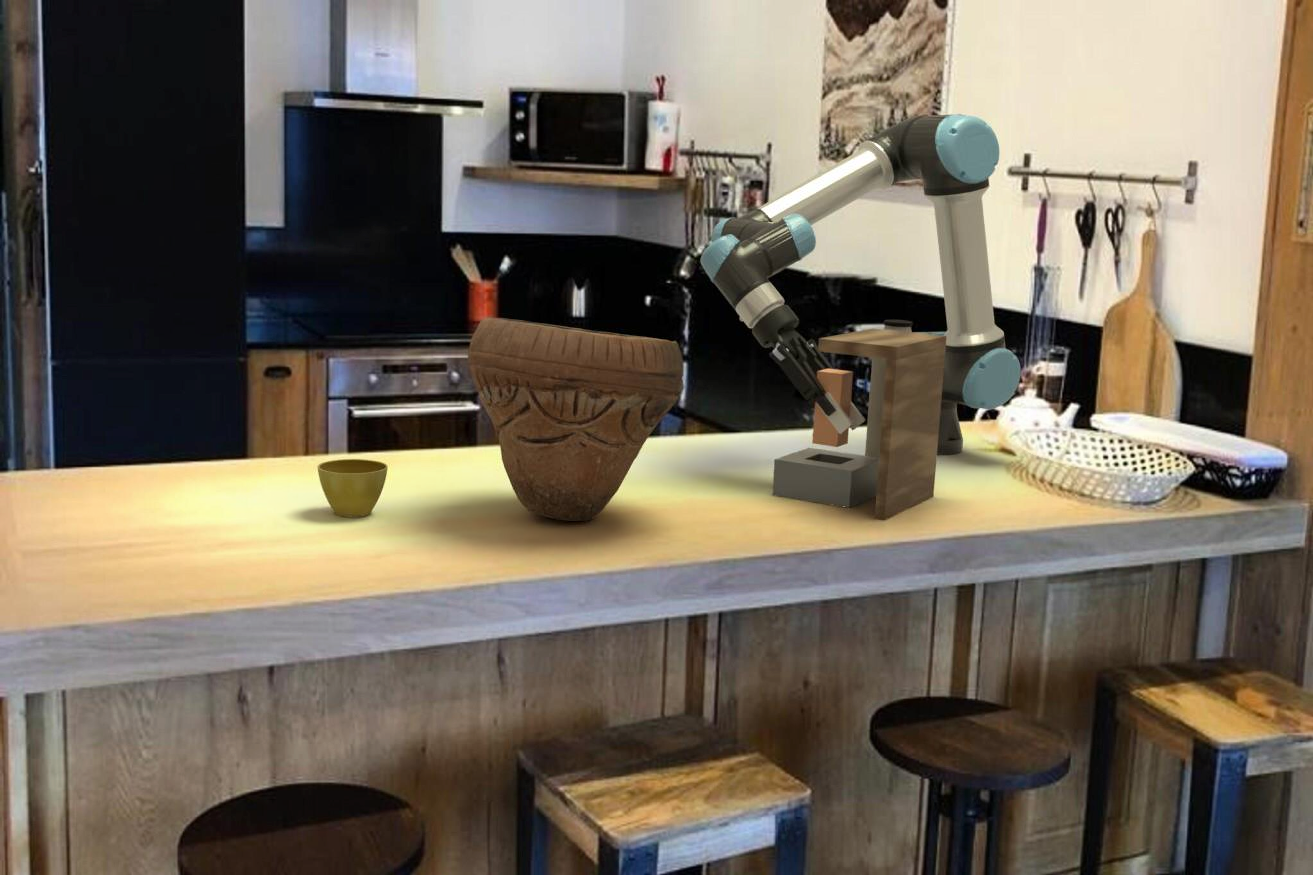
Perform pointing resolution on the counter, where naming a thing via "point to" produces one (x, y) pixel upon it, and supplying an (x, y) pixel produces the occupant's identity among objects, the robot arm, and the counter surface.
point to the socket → (826, 477)
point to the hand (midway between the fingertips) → (852, 426)
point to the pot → (571, 407)
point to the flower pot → (352, 485)
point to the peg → (841, 390)
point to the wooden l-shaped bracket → (903, 411)
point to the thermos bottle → (879, 393)
